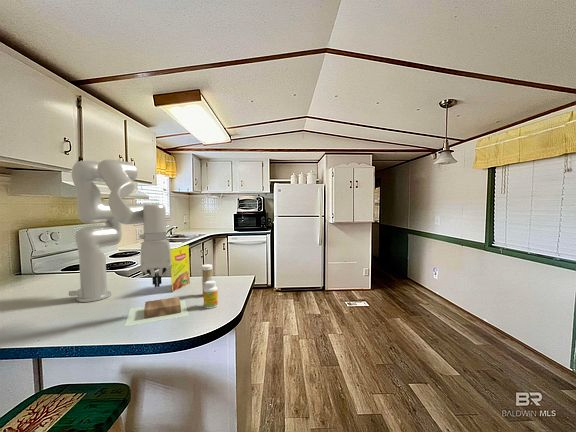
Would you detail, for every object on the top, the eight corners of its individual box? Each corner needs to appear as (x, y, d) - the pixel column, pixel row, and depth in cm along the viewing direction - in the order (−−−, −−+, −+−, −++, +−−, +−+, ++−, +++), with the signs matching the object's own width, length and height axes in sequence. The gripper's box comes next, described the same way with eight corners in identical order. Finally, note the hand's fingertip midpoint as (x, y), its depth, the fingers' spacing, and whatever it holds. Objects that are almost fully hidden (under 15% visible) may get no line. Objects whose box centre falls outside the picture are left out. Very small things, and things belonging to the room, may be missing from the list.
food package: (172, 292, 128) (171, 249, 127) (170, 292, 128) (169, 249, 128) (190, 283, 143) (189, 244, 142) (188, 283, 143) (187, 244, 143)
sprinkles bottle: (200, 295, 123) (199, 265, 123) (209, 292, 127) (208, 263, 126) (206, 297, 120) (205, 266, 120) (215, 294, 124) (214, 264, 123)
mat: (124, 327, 91) (124, 326, 91) (130, 309, 107) (130, 308, 107) (188, 316, 99) (188, 315, 99) (184, 301, 116) (184, 300, 116)
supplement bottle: (205, 309, 106) (204, 284, 106) (202, 305, 111) (202, 281, 110) (219, 307, 108) (218, 282, 108) (216, 302, 113) (215, 279, 113)
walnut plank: (144, 310, 97) (180, 304, 102) (145, 301, 106) (179, 296, 111) (144, 318, 97) (180, 312, 102) (145, 309, 106) (179, 304, 111)
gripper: (131, 239, 96) (133, 291, 96) (177, 237, 102) (179, 286, 103) (133, 237, 103) (135, 286, 103) (176, 235, 109) (178, 281, 109)
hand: (157, 286), depth 103 cm, fingers closed
